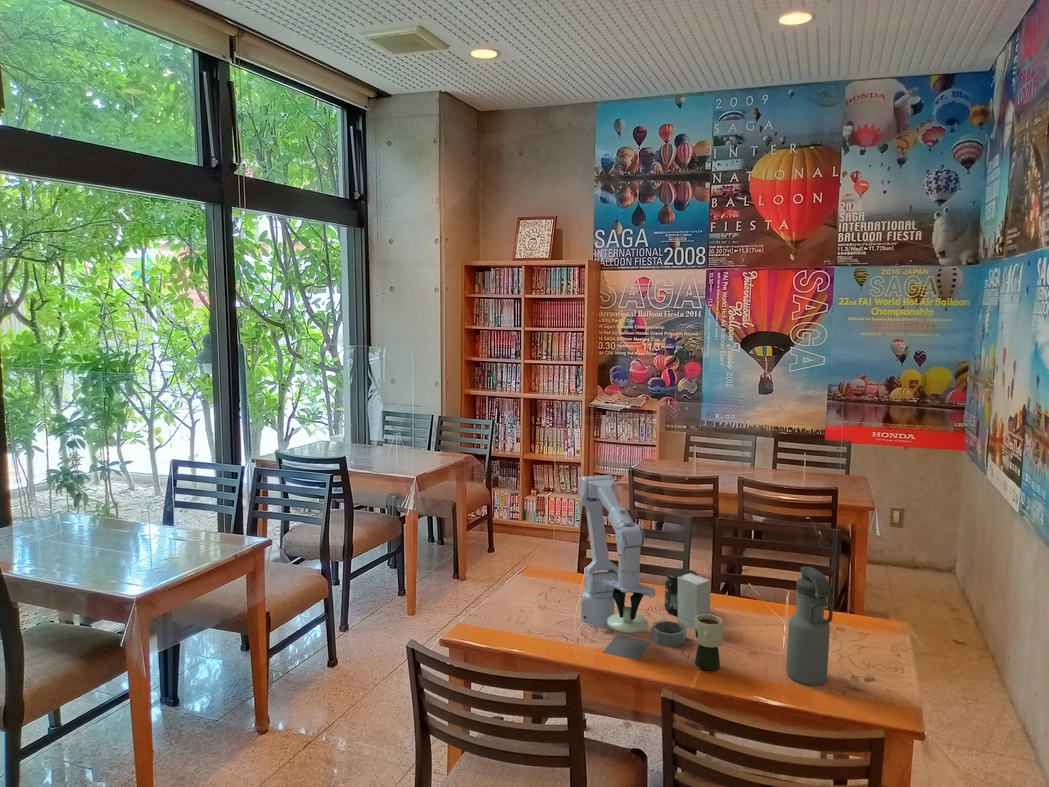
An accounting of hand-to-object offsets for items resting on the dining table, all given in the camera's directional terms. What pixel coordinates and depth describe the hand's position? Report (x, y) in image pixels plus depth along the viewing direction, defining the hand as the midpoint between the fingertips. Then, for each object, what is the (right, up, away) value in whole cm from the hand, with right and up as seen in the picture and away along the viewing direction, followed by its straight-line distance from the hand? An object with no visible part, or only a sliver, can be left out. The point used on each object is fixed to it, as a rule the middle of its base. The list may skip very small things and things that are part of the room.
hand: (627, 617), depth 200 cm
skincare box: (+22, -8, +16) cm, 28 cm away
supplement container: (+21, -7, +28) cm, 35 cm away
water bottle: (+44, -11, -14) cm, 47 cm away
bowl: (+12, -9, +6) cm, 16 cm away
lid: (0, -2, 0) cm, 2 cm away
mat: (0, -9, +1) cm, 9 cm away
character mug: (+20, -11, -8) cm, 24 cm away
